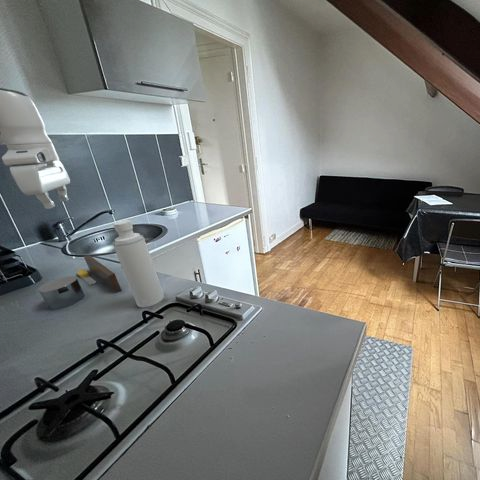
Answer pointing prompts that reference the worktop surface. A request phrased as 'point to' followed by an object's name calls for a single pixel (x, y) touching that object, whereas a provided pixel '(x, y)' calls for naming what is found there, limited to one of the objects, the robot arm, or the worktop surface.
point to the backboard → (102, 273)
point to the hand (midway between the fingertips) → (58, 204)
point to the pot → (62, 292)
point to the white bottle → (137, 265)
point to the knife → (86, 276)
